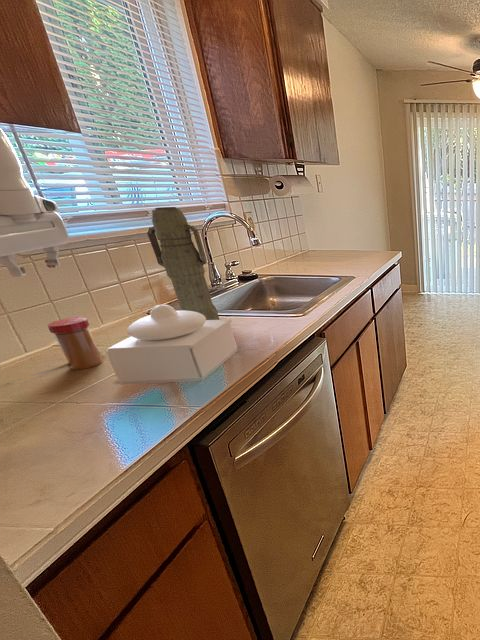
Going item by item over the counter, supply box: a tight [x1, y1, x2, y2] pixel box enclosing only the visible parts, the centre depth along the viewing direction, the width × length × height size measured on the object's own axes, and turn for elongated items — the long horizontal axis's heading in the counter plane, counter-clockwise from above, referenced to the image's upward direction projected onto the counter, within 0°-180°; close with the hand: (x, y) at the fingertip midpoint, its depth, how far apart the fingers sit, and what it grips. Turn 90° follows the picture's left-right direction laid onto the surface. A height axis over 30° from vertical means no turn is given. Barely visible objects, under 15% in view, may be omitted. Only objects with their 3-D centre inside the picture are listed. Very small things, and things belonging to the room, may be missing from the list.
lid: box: [47, 316, 90, 334], centre depth 95 cm, size 7×7×2 cm
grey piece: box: [146, 206, 221, 320], centre depth 112 cm, size 9×12×35 cm
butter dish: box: [105, 303, 239, 386], centre depth 94 cm, size 18×18×16 cm
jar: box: [53, 326, 104, 370], centre depth 97 cm, size 6×6×10 cm
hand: (38, 271), depth 89 cm, fingers open, 8 cm apart
